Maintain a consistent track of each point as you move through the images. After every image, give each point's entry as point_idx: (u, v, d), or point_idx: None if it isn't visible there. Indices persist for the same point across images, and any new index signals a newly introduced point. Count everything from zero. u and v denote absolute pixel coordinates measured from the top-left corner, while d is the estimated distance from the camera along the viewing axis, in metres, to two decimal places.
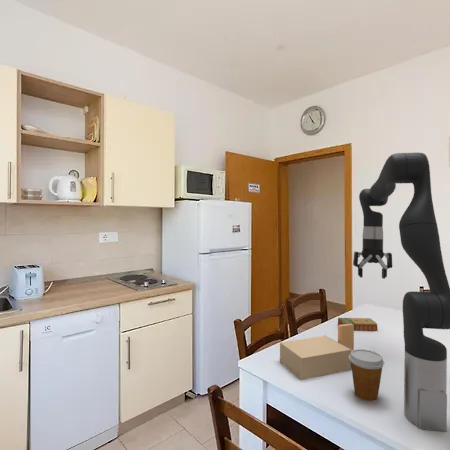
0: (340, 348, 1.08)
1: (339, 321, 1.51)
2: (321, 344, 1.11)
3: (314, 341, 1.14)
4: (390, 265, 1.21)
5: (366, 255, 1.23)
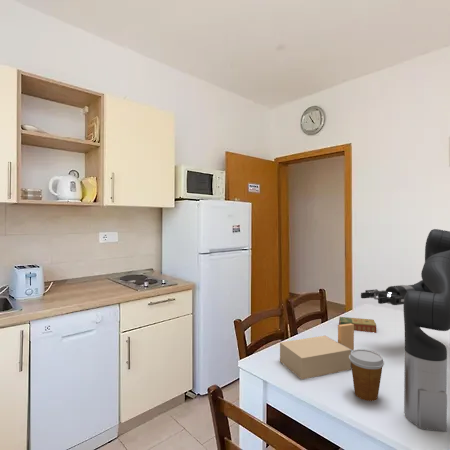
0: (340, 348, 1.08)
1: (339, 320, 1.53)
2: (321, 344, 1.11)
3: (314, 341, 1.14)
4: (394, 297, 1.15)
5: None
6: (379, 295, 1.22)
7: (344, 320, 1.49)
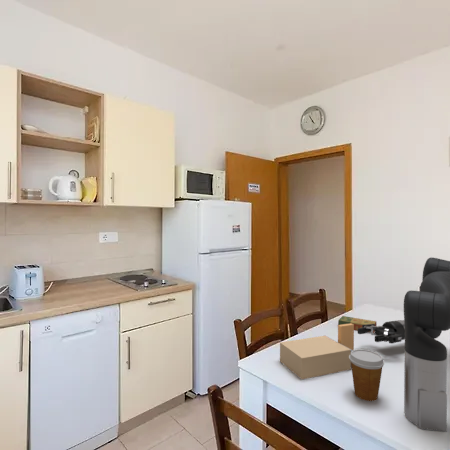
0: (340, 348, 1.08)
1: None
2: (321, 344, 1.11)
3: (314, 341, 1.14)
4: (391, 336, 1.14)
5: None
6: (376, 331, 1.21)
7: (343, 319, 1.51)
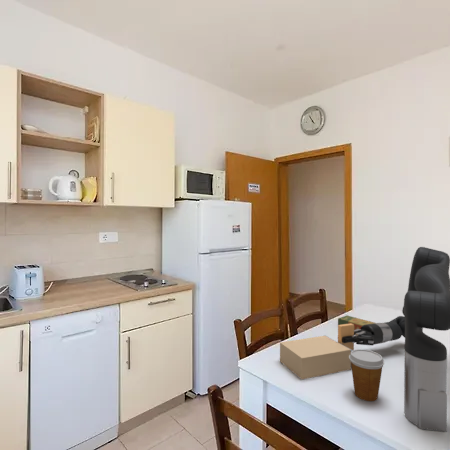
0: (340, 348, 1.08)
1: None
2: (321, 344, 1.11)
3: (314, 341, 1.14)
4: (358, 336, 1.13)
5: None
6: None
7: (344, 318, 1.52)
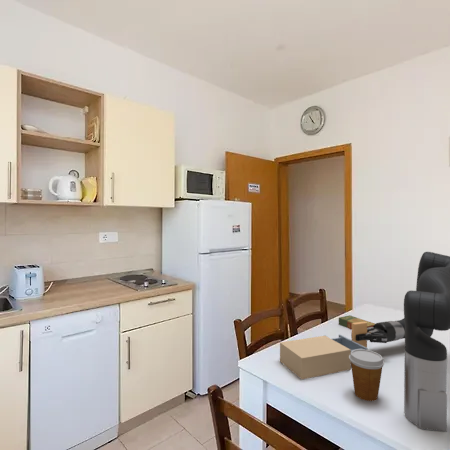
0: (340, 348, 1.08)
1: None
2: (321, 344, 1.11)
3: (314, 341, 1.14)
4: (372, 334, 1.15)
5: None
6: None
7: (344, 317, 1.53)
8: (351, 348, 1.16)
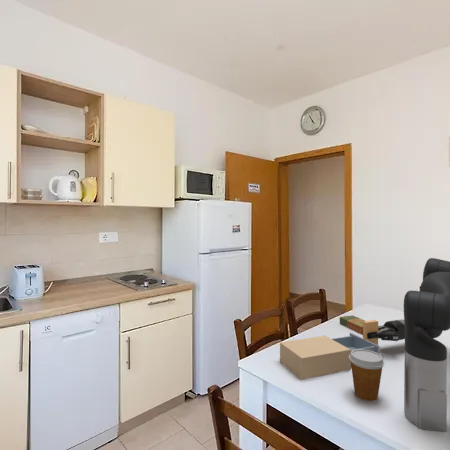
0: (340, 348, 1.08)
1: None
2: (321, 344, 1.11)
3: (314, 341, 1.14)
4: (383, 333, 1.17)
5: (379, 327, 1.23)
6: None
7: (345, 317, 1.54)
8: (363, 346, 1.17)
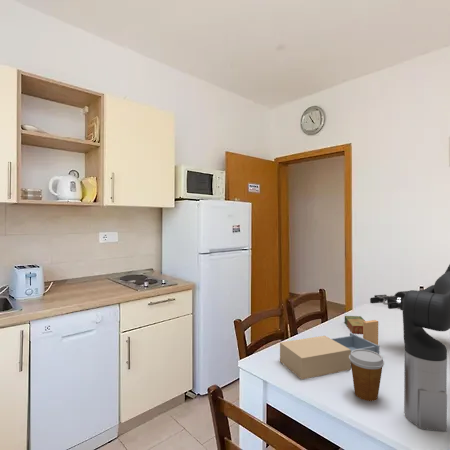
0: (340, 348, 1.08)
1: None
2: (321, 344, 1.11)
3: (314, 341, 1.14)
4: None
5: None
6: (388, 300, 1.23)
7: (349, 316, 1.55)
8: (363, 346, 1.17)
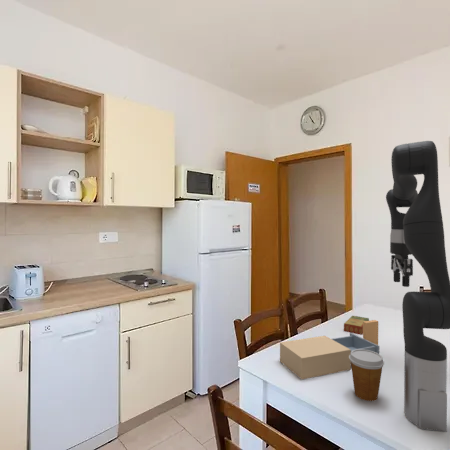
0: (340, 348, 1.08)
1: None
2: (321, 344, 1.11)
3: (314, 341, 1.14)
4: (404, 272, 1.10)
5: None
6: None
7: (355, 317, 1.54)
8: (363, 346, 1.17)
